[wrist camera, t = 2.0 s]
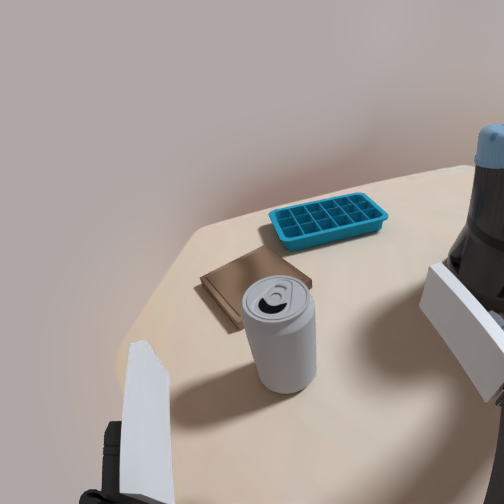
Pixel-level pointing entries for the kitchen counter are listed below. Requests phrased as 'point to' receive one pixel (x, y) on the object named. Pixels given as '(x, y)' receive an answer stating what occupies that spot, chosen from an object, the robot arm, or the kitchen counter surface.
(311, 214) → the ice cube tray
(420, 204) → the kitchen counter surface
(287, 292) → the beverage can
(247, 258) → the walnut block
